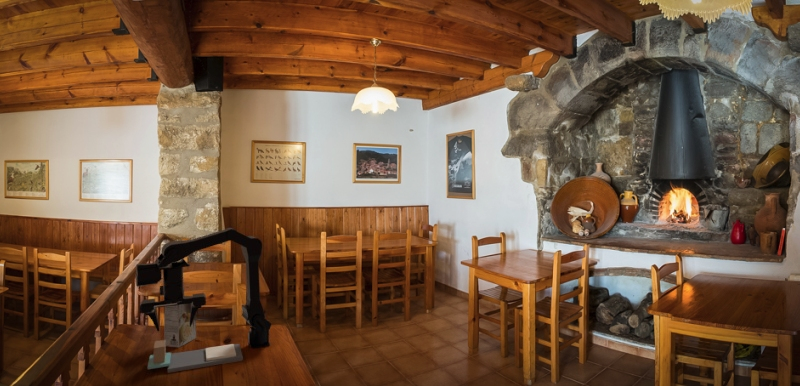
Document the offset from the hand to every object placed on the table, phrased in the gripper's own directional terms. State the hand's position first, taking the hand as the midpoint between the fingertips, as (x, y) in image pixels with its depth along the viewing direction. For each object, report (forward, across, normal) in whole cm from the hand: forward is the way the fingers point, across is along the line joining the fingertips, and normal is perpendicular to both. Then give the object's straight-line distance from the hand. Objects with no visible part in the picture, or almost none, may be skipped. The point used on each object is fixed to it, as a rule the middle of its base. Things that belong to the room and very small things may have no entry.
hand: (174, 328), depth 137 cm
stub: (+10, +4, +1) cm, 11 cm away
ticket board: (+12, -9, +1) cm, 15 cm away
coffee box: (+12, -1, -18) cm, 21 cm away
